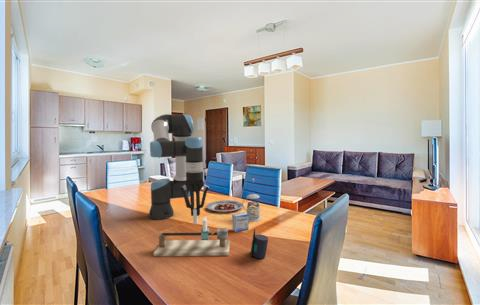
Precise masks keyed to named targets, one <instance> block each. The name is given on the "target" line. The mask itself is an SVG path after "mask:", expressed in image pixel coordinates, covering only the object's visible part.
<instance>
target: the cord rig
mask: <svg viewBox="0 0 480 305" xmlns="http://www.w3.org/2000/svg"><path fill="white" fill-rule="evenodd" d="M208 235H209V236H216V239H208V240H201V239H182V240H181V239H179V240H178V239H177V240H176V239H174V240H172V239H170V240H167V237H169V236H172V237H173V236H175V237H176V236H177V237H178V236H179V237H181V236H184V237H186V236H193V237H194V236H201V232H161V233H159V235H158V247H157V248H155V250H154V251H153V257H186V256H187V257H190V256H191V257H201V256H203V257H205V256H206V257H210V256H211V257H212V256H215V257H217V256H221V257H222V256H227V257H228V256H229V255H230V245H231V240H230V239H228V236H229V235H228V228H226V227H225V228H221V227H219V228H217V230H216V232H215V231H212V232H211V231H210V232H209V233H208Z"/></svg>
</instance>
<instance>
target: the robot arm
mask: <svg viewBox="0 0 480 305" xmlns="http://www.w3.org/2000/svg"><path fill="white" fill-rule="evenodd" d="M194 126H195V125H194V120H193V118H192V116H191V115H190V114H167V113H166V114H162V115H159V116H157V117H156V118H154V120H152V123H151V127H150V128H151V132H152V133H153V140H152V141H150V142H149V152H150V157H152V158H158V159H160V158H170V157H171V158H172V157H173V158H175V161H174V162H175V164H174V165H175V176H173V179H172V180H171V179H170V178H167V177H166V178H160V179H156V180H154V181H153V180H152V182H150V183H151V184H150V199H151V201H150V202H151V204H150V209H149V212H148V217H149V219H151V220H164V219H168V218H171V217H173V216H174V212H175V211H174V209H173V206H172V203H171V200H174V199H184V202H185V206H186V208H188V209H190V216H191V217H193V218H192V219H193V224H198V222H199V220H198V219H199V216H200V214H201V209H202V208H203V207H204V206H205V201H206V197H207V193H208V190H209V189H210V186H209V185H206V184H205V182H204V172H203V170H204V160H203V159H204V158H203V156H204V155H203V151H204V150H203V148H204V147H203V146H204V143H203V137H201V136H192V134H194V132H195V127H194ZM169 134H172V137H173V138H174V140H170V139H171V138H170V135H169ZM202 190H203V193H202V197H200V196H201V195H200V193H201V191H202ZM195 197H196V198H195ZM195 201H196V204H195ZM195 206H196V207H195Z"/></svg>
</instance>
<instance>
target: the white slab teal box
mask: <svg viewBox="0 0 480 305" xmlns="http://www.w3.org/2000/svg"><path fill="white" fill-rule="evenodd" d="M200 233H201V235H200V238H201V239H200V240H210V235H208V233H210V228H209V227H208V217H207V216H204V217H203V220H202V228H201V230H200Z"/></svg>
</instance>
